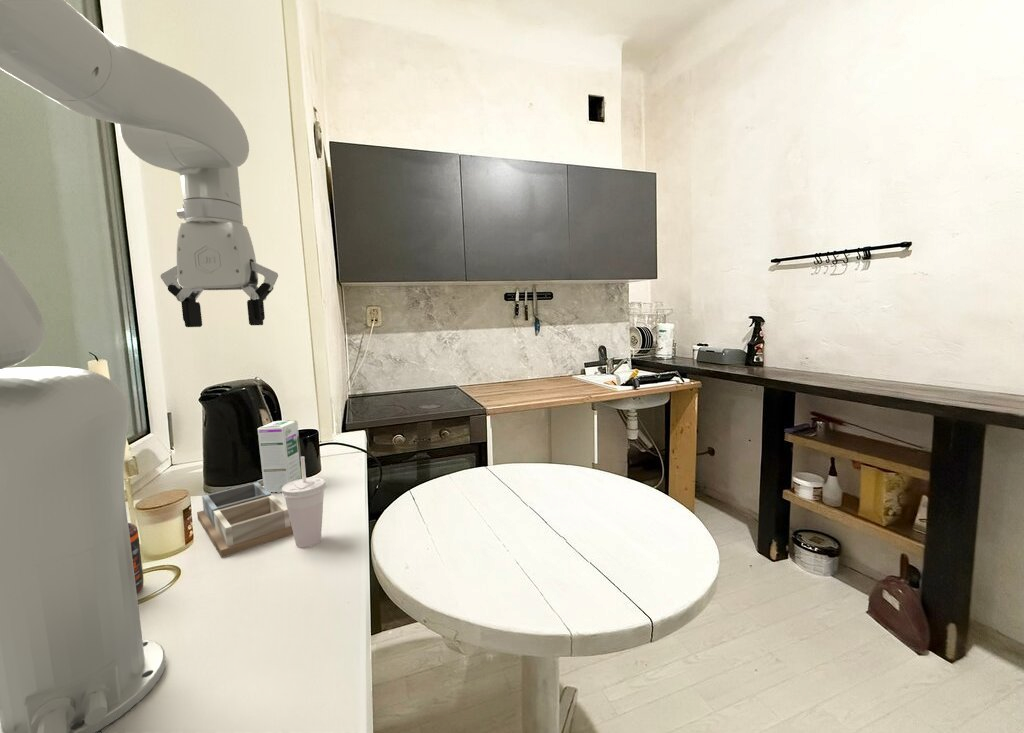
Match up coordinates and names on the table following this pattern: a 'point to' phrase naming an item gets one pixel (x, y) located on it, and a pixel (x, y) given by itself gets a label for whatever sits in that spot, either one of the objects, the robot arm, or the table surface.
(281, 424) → the syrup box
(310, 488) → the smoothie
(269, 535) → the organizer
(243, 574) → the table surface
